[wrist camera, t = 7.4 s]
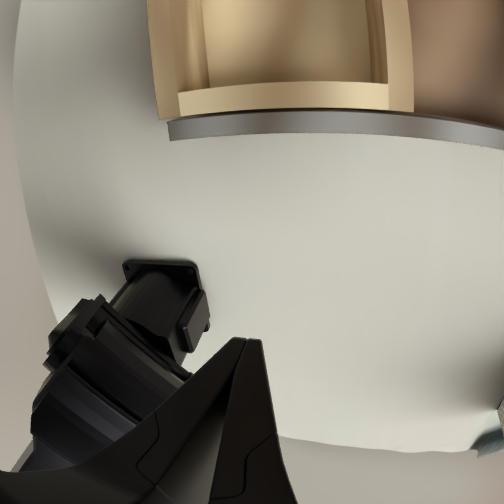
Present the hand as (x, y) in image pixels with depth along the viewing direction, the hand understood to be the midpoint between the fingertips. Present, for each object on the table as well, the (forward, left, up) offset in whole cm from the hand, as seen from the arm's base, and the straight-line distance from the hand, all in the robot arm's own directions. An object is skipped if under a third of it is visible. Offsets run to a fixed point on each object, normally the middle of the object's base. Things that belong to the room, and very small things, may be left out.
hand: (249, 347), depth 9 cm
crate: (0, +12, -11) cm, 16 cm away
